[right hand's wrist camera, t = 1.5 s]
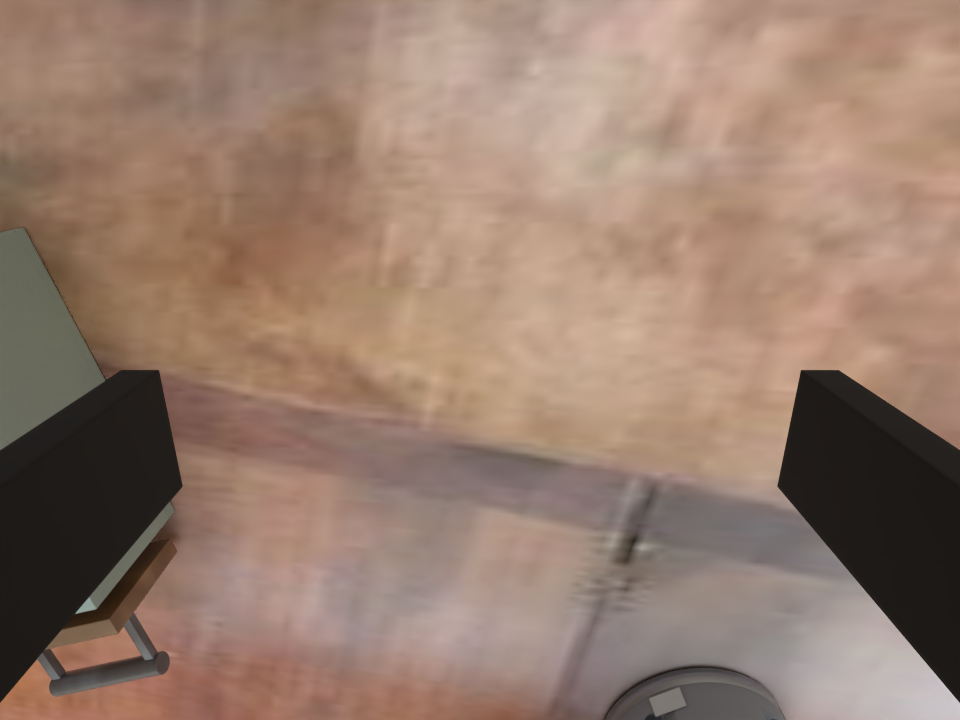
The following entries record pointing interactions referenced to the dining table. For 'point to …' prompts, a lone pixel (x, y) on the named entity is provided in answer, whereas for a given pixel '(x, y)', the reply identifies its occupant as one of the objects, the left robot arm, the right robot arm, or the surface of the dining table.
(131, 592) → the drawer
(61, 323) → the green drawer casing
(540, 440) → the dining table surface
